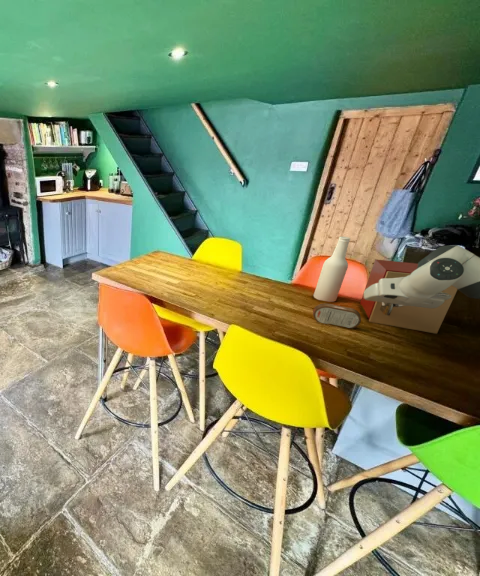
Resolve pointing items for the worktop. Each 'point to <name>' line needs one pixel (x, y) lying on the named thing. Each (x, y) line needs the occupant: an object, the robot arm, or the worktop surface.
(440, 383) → the worktop surface
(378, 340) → the worktop surface
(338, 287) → the alcohol
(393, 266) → the red cabinet
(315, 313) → the tin
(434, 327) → the door
